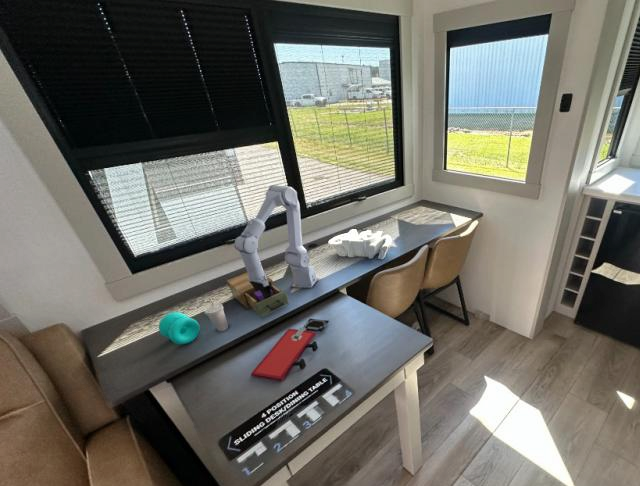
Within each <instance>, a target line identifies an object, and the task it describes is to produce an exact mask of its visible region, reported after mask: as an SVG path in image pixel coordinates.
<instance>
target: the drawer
mask: <svg viewBox="0 0 640 486" xmlns="http://www.w3.org/2000/svg"><path fill="white" fill-rule="evenodd" d="M271 290H272V292H273V296H271V297H269V298H267V299H264V300H262V301H260V302H258V303H257V301H256V298H255V295H254V292H256V290H255V289H253V290H251V291H249V292H246V293H244V296H245V299H246V301H247V303H248V304H249V305H250V306H251V308H252V309H253V310H254V311H255V312H256V313H257V314H258V316H259V318H261V319H262V318H263V317H266V316H268V315H270V314H272V313H274V312H276V311H278V310H280V309H282V308H284V307H286V306H289V304H290V303H289V300H288V297H287V293H286V291H285V290H283V291H281V289H279V288H277V287H276V286H275V285H274V286H273V285H272V286H271Z"/></svg>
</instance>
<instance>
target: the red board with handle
mask: <svg viewBox="0 0 640 486" xmlns="http://www.w3.org/2000/svg"><path fill="white" fill-rule="evenodd" d="M329 322H330V320H325V319H317V318H309V319H308V320H307V321H306V323H305V324H304V325H303V326H302V327H300V328H299V329H296V328H288V329H287V330H286V331H285V332H284V333H283V335H282V336H280V338H279V340H278V341H276V343H275V344H274V345H273V347H272V348H271V349H270V350H269V351H268V352H267V353H266V355H265V356H264V357H263V358H262V360H261V361H260V362H259V363H258V365H257V366H256V367H255V368H254V369H253V370H252V371H251V373H250V375H251V377H255V378H260V379H261V378H262V379H265V380H266V379H267V380H272V381H279V382H283V381H284V380H285V378H286V376H288V374H289V372H290V371H291V370H292V368H293V367H295V366H299V369H300V370H304V369H305V368H306V366H307V365H306V362H305V359H304V358H300V357H301V356H302V355H303V354H304V351H305V350H306V349H311V350H312V352H316V351H317V350H318V348H319V347H318V343H317V341H314V340H313V339H314V337H315V336H316V335H317V332H320V333H322V332H323V331H324V329H325V328H326V327H327V325H328V324H329ZM299 358H300V360H299Z"/></svg>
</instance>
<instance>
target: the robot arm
mask: <svg viewBox="0 0 640 486" xmlns="http://www.w3.org/2000/svg"><path fill="white" fill-rule="evenodd" d="M278 207H283V208H284V209H285V211H286V225H287V236H288V237H287V238H288V247H287V248H285V255H284V261H285V264H287V265H289V267H290V270H291V273H292V276H293V281H294V283H293V284H292V285H291V287H292V288H305V289H307V288H308V289H311V288H313V286H314V285H315V284H316V283H317V281H318V278H317V275H316V271H315V267H314V266H312V265H309V264H310V257H309V255H308V250H307V249H306V248H305V246H303V237H302V236H303V235H302V233H303V232H302V220H301V205H300V202H299V199H298V192H297V190H295V189H294V187H292V186H285V185H277V184H271V185H269V187H268V189H267V190H266V192H265V198H264V201H263V203H262V204H261V206H260V208H259V210H258V212H257V214H256V216H255V217H254V218H251V219H250V220H248V221H247V223H246V224H247V225H246V227H245V228H244V230H243V231H242V232H241V234H240V235H239V236H238V237H236V238H235V240H234V245H233V247H234V249H235V250H237V251H238V252H239V254H240V257H241V259H242V262H243V264H244V268H245V270H246V273H248V275H249V278H247V281H248V282H250V283H251V284H252V286H253V287H254V289H255V290H256V291H259V290H260V291H261V293H262V294H263V296H264V298H265V299H267V298H269V297H271V286H272V283H271V282H268V281H267V279H266V276H267V275H266V273H265V271H264V269H263V265H262V263H261V259H260V256H259V253H258V249H259V240H260V238H261V236H262V235H263V233H264V231H265V230H266V224H265V223H266V222H267V220H268V219H269V217H270V215H272V213H273V211H274V210H275V208H278Z"/></svg>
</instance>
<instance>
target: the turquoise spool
mask: <svg viewBox="0 0 640 486" xmlns="http://www.w3.org/2000/svg"><path fill="white" fill-rule="evenodd" d="M200 329H201V327H200V324H199V322H198V321H197V320H196V319H194V318H192V317H188V316H187V315H186V314H185V313H183V312H181V311H174V312H169V313H168V314H166V315H164V316H163V317H162V318H161V319H160V321H159V323H158V331H159V333H160V335H162V336H163V337H165V338H168V339H170V340H171V342H172V343H174V344H177V345H187V344H189V343H192V342H193V341H194V340H196V338H197V337H198V335H199V334H200V331H201V330H200Z"/></svg>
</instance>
